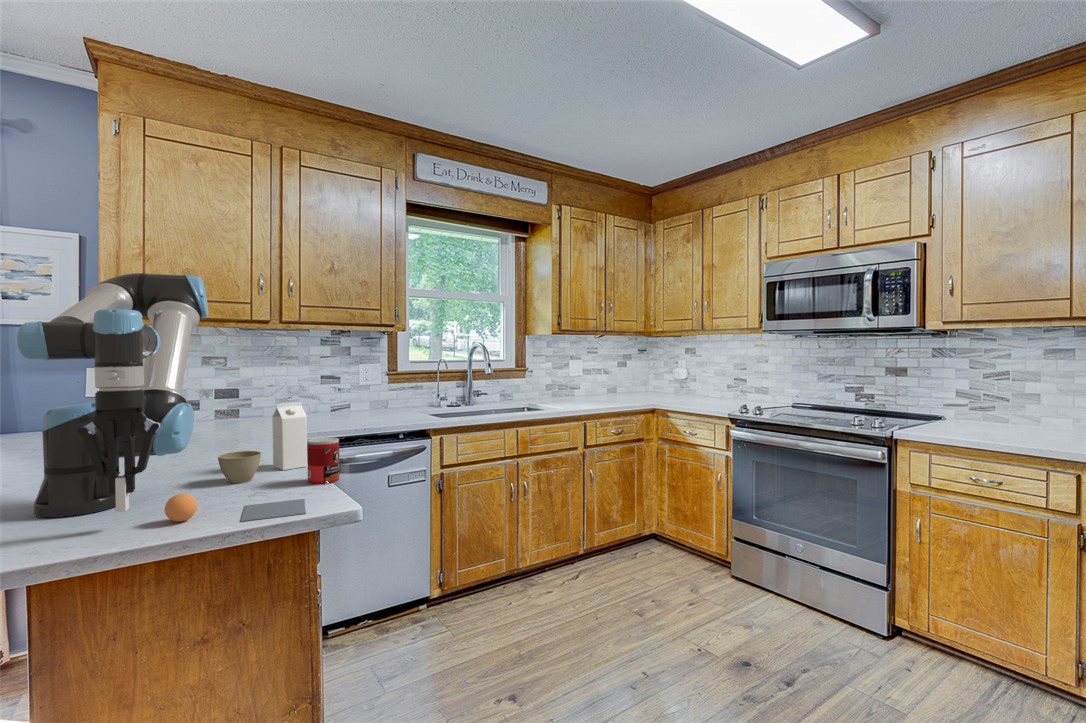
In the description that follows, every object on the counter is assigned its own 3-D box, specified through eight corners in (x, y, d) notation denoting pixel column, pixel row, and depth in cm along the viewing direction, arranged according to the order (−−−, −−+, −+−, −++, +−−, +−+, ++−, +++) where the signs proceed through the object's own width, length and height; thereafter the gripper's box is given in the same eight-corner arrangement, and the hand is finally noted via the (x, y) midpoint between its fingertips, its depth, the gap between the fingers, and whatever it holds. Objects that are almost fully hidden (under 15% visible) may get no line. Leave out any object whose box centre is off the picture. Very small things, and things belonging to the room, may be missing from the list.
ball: (162, 527, 107) (161, 499, 106) (168, 519, 112) (167, 492, 111) (195, 523, 109) (194, 495, 109) (199, 515, 114) (198, 489, 114)
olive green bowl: (209, 485, 139) (208, 457, 139) (237, 476, 149) (236, 450, 149) (243, 486, 138) (243, 458, 138) (269, 477, 148) (269, 451, 147)
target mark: (240, 521, 109) (240, 520, 109) (245, 506, 120) (245, 505, 120) (305, 513, 114) (305, 512, 114) (304, 499, 125) (304, 498, 125)
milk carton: (273, 467, 160) (271, 403, 160) (297, 463, 165) (296, 401, 165) (283, 470, 155) (281, 404, 155) (307, 466, 161) (306, 402, 160)
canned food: (329, 485, 138) (328, 442, 138) (301, 484, 140) (300, 441, 140) (345, 478, 146) (345, 437, 146) (319, 477, 147) (318, 436, 147)
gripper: (70, 391, 99) (73, 519, 100) (156, 388, 105) (158, 510, 105) (84, 389, 106) (87, 509, 106) (164, 387, 112) (166, 501, 112)
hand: (122, 510), depth 106 cm, fingers closed
